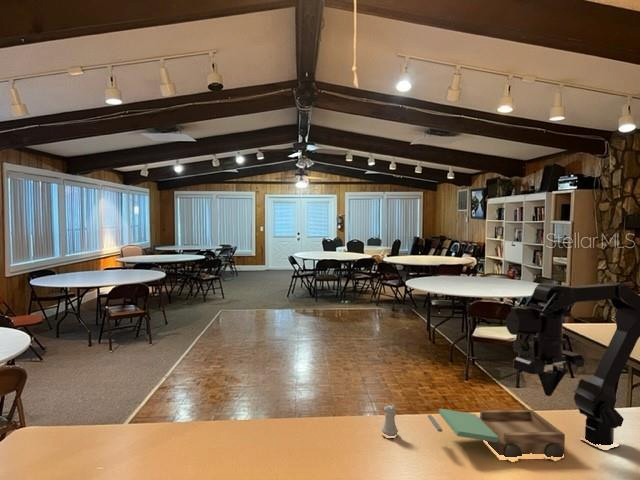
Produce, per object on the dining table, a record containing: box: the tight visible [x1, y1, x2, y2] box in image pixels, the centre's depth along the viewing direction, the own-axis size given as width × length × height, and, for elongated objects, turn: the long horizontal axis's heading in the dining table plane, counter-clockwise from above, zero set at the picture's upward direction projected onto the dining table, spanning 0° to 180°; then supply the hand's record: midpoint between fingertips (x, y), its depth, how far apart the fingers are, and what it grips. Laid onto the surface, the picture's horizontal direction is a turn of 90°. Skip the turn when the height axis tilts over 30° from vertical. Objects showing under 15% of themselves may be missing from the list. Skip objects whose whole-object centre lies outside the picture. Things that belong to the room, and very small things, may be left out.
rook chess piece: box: [381, 403, 399, 436], centre depth 111 cm, size 4×4×8 cm
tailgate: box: [427, 408, 499, 442], centre depth 106 cm, size 2×13×14 cm
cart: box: [479, 409, 566, 457], centre depth 107 cm, size 16×16×6 cm
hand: (548, 395), depth 106 cm, fingers closed
